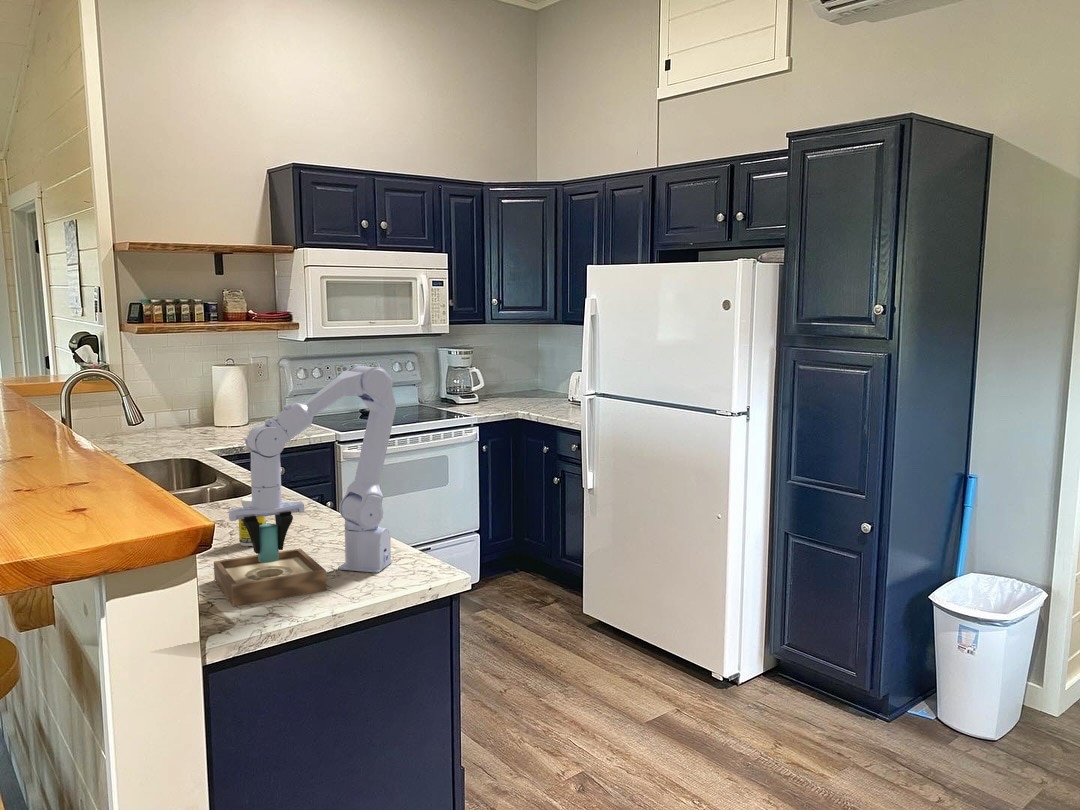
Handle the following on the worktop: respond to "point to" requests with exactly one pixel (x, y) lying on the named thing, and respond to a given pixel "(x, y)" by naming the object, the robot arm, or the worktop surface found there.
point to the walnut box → (269, 577)
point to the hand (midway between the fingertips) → (268, 550)
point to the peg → (268, 543)
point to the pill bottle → (243, 533)
